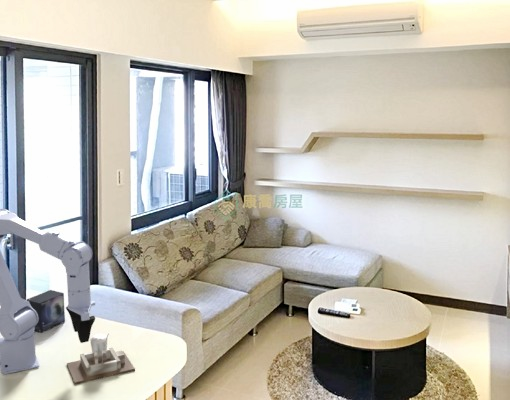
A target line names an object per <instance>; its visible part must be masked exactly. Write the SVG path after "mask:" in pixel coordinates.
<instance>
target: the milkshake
mask: <svg viewBox="0 0 510 400" xmlns="http://www.w3.org/2000/svg"><path fill="white" fill-rule="evenodd" d="M109 335H110V334H109V333H107V335H106V334H104V333H96V334H94V335H92V336H91V337H90V338H89V341H90V346H91V352H92V355H93V362H94V365H95V364H100V363H105V362H106V360H107V349H108V336H109Z"/></svg>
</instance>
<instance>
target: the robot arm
mask: <svg viewBox="0 0 510 400" xmlns="http://www.w3.org/2000/svg"><path fill="white" fill-rule="evenodd" d="M9 234H12V235H16V236H18V237H20V238H23V239H25V240H27V241H30V242H31V243H34V244H38V246H39V247H38V248H39V250H40V251H42V252H44V253H46V254H47V255H50V256H51V257H54V258H55V259H58V260H60V261H61V263H62V264H63V266H64V268H65V273H66V284H67V285H66V286H67V302H68V304H67V306H66V307H65V309H66V311H67V312H68V314H69V316H70V319H71V324H72V328H73V331H74V332H75V333H77V336H78V340H79V342H80V344H83V343H88V342H89V341H90V338H91V337H90V336H91V330H92V327H93V325H94V322H95V321H96V317H95V315H90V312H91V309H92V307H93V306H96V301H95V300H91V282H90V261H91V260H92V258H93V249H92V248H91V246H90V245H89V244H88V243H86V242H85V241H79V242H76V241H75V240H74V239H69V238H67V237H65V236H63V235H60V231H59V232H58V231H57V230H55V231H52V230H51V231H47V232H44V231H42V230H41V229H39V228H37V227H36V226H34V225H32V224H30V223H28V222H27V221H25V220H23V219H21V218H19V216H18V215H17V214H16V213H14V212H12V211H10V210H8V209H5V208H0V244H1V243H2V240H3V239H4V237H5V236H7V235H9ZM38 319H39V318H38V314H37V312H36V311H35V310H34V309H33V308H32V307H31V305H30V303H29V301H27V299H24V298H22V297H21V294H20V292H19V291H18V287H17V286H16V283H15V281H14V279H13V276H12V274H11V271H10V269H9V267H8V264H7V263H6V261H5V258H4V256H3V254H2V251H1V250H0V335H1V336H2V337H0V370H1V375H7V374H13V373H17V372H22V371H27V370H30V369H31V370H32V369H36V368H39V367H40V364H39V360H38V357H37V355H36V354H37V353H36V342H35V341H36V340H35V339H36V338H35V331H34V330H35V326H36V325H37V323H38Z"/></svg>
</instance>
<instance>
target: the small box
mask: <svg viewBox="0 0 510 400" xmlns="http://www.w3.org/2000/svg"><path fill="white" fill-rule="evenodd" d="M26 300H27V301H29V303H30V305H31V307H32V308H33V309H34V310H35V311H36V312H37V314H38V318H39V319H38V323H37V325H36V326H35V330H34V333H35V332H36V333H40V334H42V333H45V332H46V331H49V330H52V329H53V328H55V327H57V326H59V325H62V324H64V323H65V322H66V314H65V294H64V292H61V291H57V290H52V289H49V290H47V291H44V292H42V293H39V294H37V295H35V296H32V297H30V298H27V299H26Z"/></svg>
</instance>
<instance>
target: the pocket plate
mask: <svg viewBox="0 0 510 400" xmlns="http://www.w3.org/2000/svg"><path fill="white" fill-rule="evenodd" d="M79 356H80V360H75V361H70V362H66V366H67V368H68V371H69V374H70V375H71V379H72V380H73V383H74V385H79V384H84V383H87V382H92V381H97V380H101V379H103V378H104V379H105V378H109V377H110V378H111V377H114V376H117V375H118V376H119V375H122V374H126V373H131V372H135V371H136V368H135V366H134V365H133V364H132V362H131V360H130V359H129V358H128V356H127V354H126V353H125V351H123V350H118V351H117V350H116V351H115V350H114V348H113V347H110V348H107V360H106V362H105V363H100V364H95V365H94V362H93V355H92V351H90V352H85V353H81V354H79Z"/></svg>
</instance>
